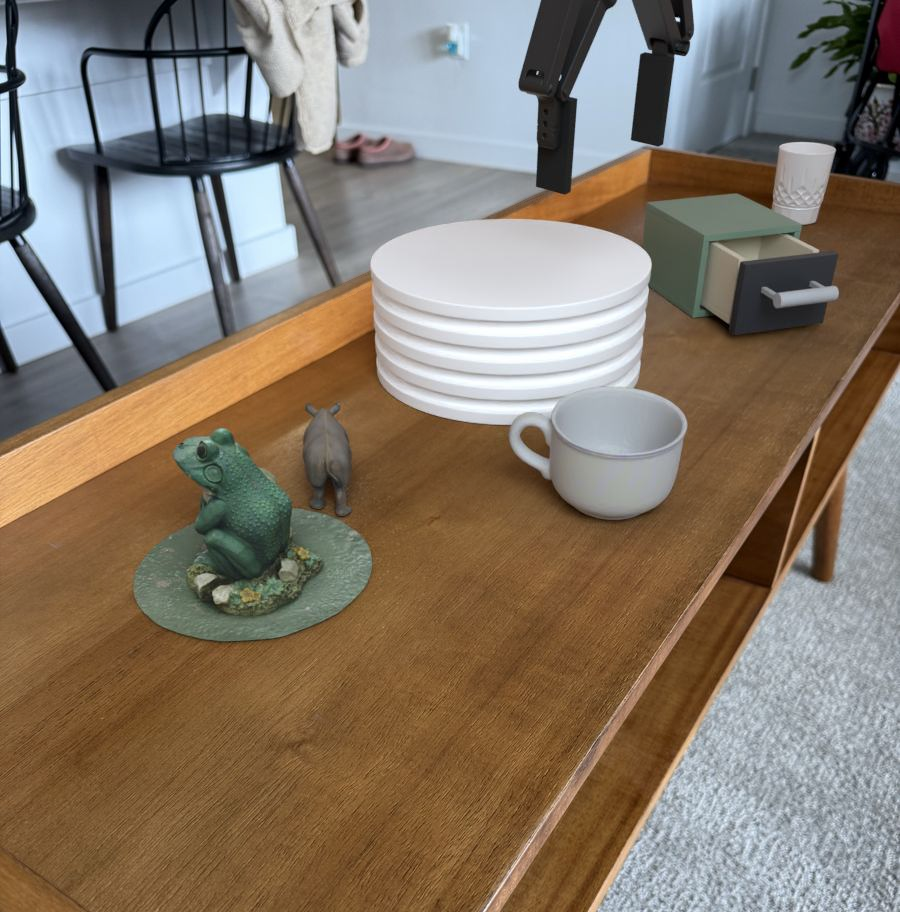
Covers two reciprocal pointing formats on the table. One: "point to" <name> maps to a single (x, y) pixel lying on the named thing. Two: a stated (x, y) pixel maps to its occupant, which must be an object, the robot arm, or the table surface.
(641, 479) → the teacup
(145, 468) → the table surface
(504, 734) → the table surface
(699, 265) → the cabinet
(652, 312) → the table surface
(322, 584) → the frog figurine
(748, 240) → the drawer
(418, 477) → the table surface
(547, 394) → the plate stack
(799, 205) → the white cup
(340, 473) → the rhino figurine
